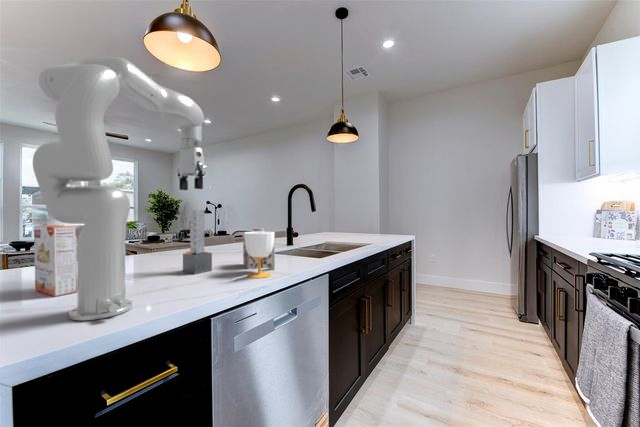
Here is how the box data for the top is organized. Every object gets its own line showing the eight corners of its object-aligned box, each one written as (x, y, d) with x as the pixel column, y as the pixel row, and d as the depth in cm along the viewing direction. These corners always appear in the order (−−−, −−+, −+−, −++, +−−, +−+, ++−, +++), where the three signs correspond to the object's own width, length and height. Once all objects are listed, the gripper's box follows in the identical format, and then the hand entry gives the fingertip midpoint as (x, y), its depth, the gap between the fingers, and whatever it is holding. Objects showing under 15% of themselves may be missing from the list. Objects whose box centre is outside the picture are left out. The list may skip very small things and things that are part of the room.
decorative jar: (243, 267, 126) (243, 227, 126) (268, 265, 131) (268, 227, 131) (247, 272, 116) (247, 229, 115) (275, 269, 120) (275, 228, 120)
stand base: (220, 273, 113) (219, 250, 113) (193, 279, 103) (193, 253, 103) (201, 270, 119) (201, 248, 119) (174, 275, 109) (174, 251, 109)
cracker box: (33, 291, 88) (32, 225, 88) (58, 286, 93) (57, 224, 93) (52, 297, 81) (52, 226, 81) (78, 292, 87) (77, 225, 86)
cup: (277, 272, 115) (277, 231, 115) (269, 279, 103) (270, 233, 103) (250, 271, 116) (250, 231, 116) (239, 278, 104) (239, 233, 104)
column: (204, 260, 111) (204, 210, 111) (194, 261, 108) (194, 210, 108) (198, 259, 113) (198, 210, 113) (189, 260, 110) (188, 210, 109)
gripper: (213, 144, 107) (213, 189, 107) (187, 150, 117) (186, 191, 116) (195, 140, 101) (195, 187, 101) (169, 146, 110) (169, 189, 110)
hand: (191, 189), depth 109 cm, fingers open, 9 cm apart
